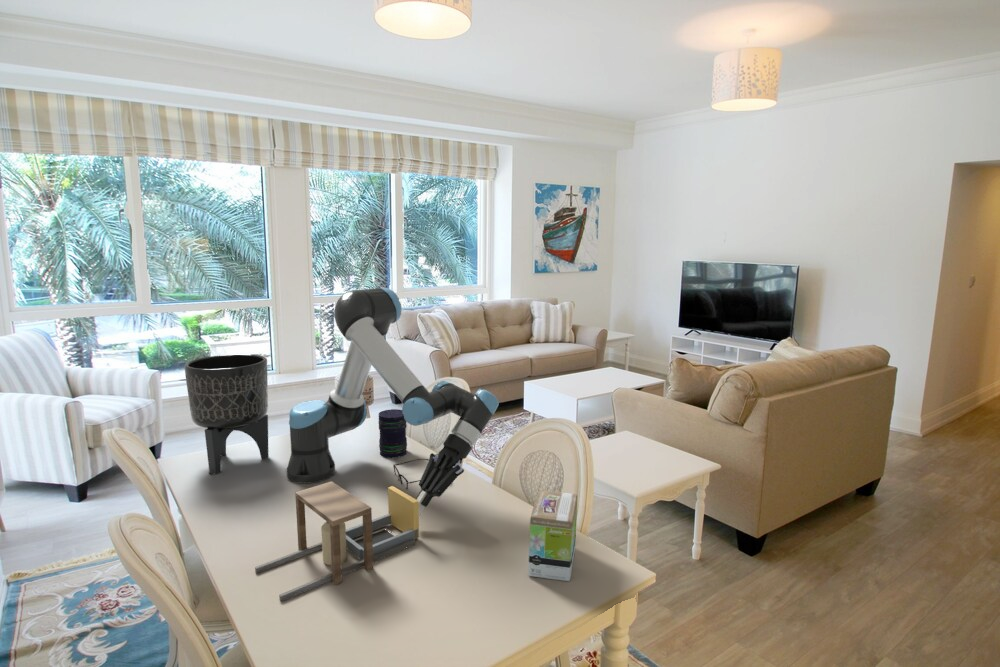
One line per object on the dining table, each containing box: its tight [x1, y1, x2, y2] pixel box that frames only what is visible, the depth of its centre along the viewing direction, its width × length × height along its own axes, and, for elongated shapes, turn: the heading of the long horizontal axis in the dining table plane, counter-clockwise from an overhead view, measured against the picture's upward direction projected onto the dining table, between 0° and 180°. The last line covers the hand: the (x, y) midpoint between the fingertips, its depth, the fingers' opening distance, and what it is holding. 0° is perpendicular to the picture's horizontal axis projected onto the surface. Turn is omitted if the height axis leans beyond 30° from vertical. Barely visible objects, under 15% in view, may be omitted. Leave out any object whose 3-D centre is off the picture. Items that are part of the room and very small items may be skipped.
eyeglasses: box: [392, 458, 429, 490], centre depth 183 cm, size 16×16×4 cm
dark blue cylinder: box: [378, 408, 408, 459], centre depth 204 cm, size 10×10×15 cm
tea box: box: [527, 490, 578, 582], centre depth 135 cm, size 15×10×15 cm, turn 168°
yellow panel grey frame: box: [346, 485, 420, 561], centre depth 144 cm, size 12×16×10 cm
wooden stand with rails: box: [254, 481, 416, 602], centre depth 136 cm, size 20×34×15 cm, turn 133°
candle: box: [320, 521, 348, 566], centre depth 135 cm, size 6×6×10 cm
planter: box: [184, 353, 270, 475], centre depth 193 cm, size 25×25×36 cm
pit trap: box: [353, 527, 397, 548], centre depth 144 cm, size 10×12×1 cm
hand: (413, 515), depth 150 cm, fingers closed
